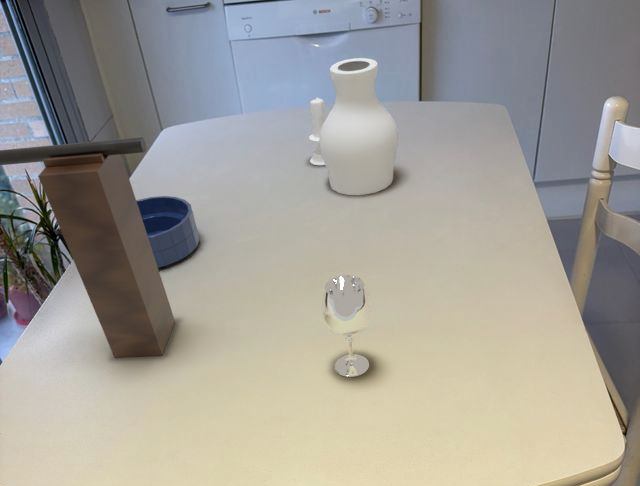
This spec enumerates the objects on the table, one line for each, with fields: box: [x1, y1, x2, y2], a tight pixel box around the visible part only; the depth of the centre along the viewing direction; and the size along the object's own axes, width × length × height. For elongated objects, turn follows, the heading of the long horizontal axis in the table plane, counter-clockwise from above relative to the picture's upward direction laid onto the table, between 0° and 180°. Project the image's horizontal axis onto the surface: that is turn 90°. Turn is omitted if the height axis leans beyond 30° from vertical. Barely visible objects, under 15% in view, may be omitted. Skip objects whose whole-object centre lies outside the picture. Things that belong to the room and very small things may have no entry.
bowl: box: [136, 195, 201, 268], centre depth 110 cm, size 15×15×6 cm
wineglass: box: [321, 274, 372, 378], centre depth 79 cm, size 6×6×12 cm
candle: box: [308, 97, 327, 166], centre depth 127 cm, size 5×5×12 cm
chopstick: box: [0, 136, 147, 166], centre depth 75 cm, size 20×2×2 cm, turn 86°
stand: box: [37, 154, 176, 358], centre depth 84 cm, size 7×8×27 cm
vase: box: [319, 57, 399, 196], centre depth 115 cm, size 14×14×20 cm
